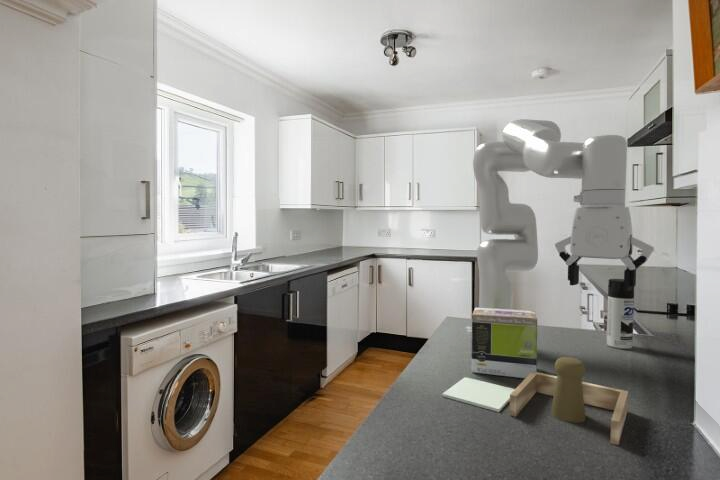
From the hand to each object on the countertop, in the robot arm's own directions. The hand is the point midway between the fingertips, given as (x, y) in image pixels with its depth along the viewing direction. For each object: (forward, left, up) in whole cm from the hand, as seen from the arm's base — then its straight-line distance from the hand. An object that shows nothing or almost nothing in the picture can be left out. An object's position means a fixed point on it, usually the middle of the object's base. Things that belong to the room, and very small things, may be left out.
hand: (600, 287), depth 84 cm
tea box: (-22, +10, -25) cm, 34 cm away
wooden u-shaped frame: (-4, -6, -24) cm, 25 cm away
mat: (-21, -8, -24) cm, 33 cm away
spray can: (-1, +52, -25) cm, 58 cm away
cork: (-4, -7, -25) cm, 26 cm away
